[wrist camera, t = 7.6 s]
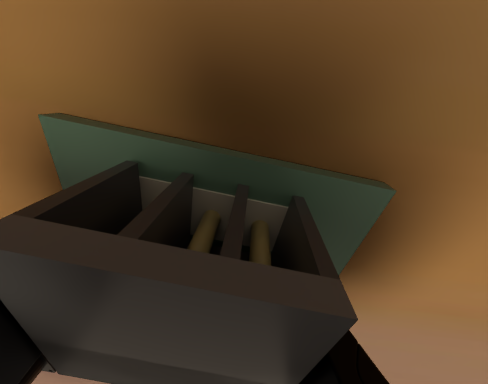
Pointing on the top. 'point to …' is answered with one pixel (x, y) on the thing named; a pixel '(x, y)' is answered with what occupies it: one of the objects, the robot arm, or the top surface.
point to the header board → (222, 185)
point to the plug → (167, 288)
